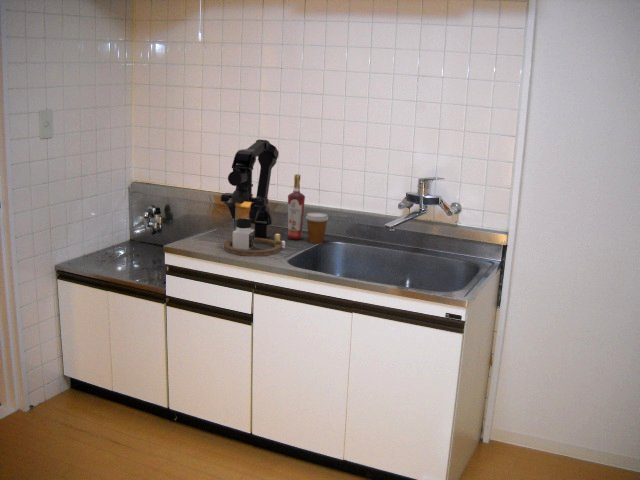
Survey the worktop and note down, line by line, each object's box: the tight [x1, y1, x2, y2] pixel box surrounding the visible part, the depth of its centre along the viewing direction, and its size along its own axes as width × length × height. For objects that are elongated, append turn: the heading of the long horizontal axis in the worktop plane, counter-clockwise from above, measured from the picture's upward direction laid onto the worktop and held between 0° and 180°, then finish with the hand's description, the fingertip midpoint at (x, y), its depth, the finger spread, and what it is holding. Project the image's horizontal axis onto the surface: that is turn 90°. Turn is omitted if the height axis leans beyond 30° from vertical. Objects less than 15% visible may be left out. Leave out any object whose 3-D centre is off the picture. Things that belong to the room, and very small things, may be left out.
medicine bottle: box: [231, 217, 255, 251], centre depth 296 cm, size 7×7×12 cm
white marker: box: [280, 240, 286, 249], centre depth 300 cm, size 1×2×2 cm, turn 18°
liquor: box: [286, 173, 306, 241], centre depth 313 cm, size 7×7×28 cm
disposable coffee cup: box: [305, 211, 329, 245], centre depth 311 cm, size 10×10×12 cm
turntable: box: [222, 233, 282, 257], centre depth 296 cm, size 23×23×6 cm
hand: (243, 220), depth 295 cm, fingers open, 9 cm apart
